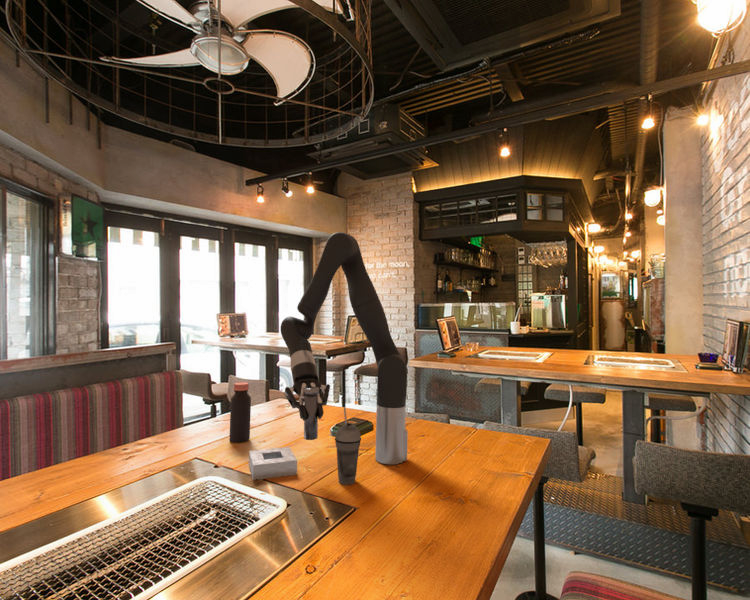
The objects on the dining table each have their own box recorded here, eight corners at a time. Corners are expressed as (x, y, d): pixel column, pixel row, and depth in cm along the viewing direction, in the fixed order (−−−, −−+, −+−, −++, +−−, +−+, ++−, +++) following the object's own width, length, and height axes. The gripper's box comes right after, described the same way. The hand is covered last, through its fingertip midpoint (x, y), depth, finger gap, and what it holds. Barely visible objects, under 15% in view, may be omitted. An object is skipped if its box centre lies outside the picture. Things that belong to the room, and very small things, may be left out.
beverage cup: (356, 488, 106) (358, 412, 107) (330, 485, 108) (332, 410, 108) (362, 477, 114) (364, 406, 114) (338, 474, 115) (339, 404, 116)
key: (316, 434, 117) (316, 386, 117) (320, 439, 113) (320, 389, 113) (301, 436, 115) (301, 387, 116) (304, 441, 111) (305, 390, 112)
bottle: (253, 439, 144) (255, 383, 144) (238, 444, 138) (240, 386, 139) (241, 435, 147) (242, 381, 148) (225, 440, 142) (227, 383, 142)
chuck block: (288, 459, 126) (289, 446, 126) (296, 474, 114) (297, 460, 115) (248, 464, 121) (249, 450, 121) (252, 480, 110) (253, 465, 110)
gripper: (281, 362, 119) (288, 413, 107) (328, 360, 124) (339, 408, 113) (278, 377, 124) (285, 428, 112) (323, 374, 129) (334, 422, 118)
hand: (312, 418), depth 113 cm, fingers closed on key, 3 cm apart
